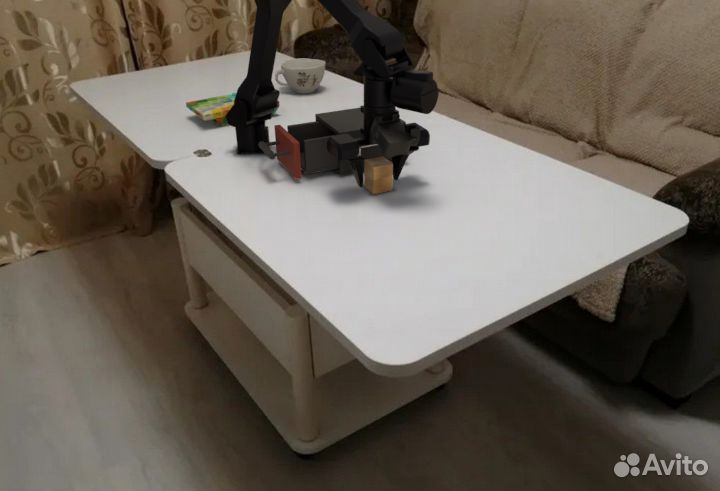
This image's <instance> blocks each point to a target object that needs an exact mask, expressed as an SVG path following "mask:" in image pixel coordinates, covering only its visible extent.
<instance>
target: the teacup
mask: <svg viewBox="0 0 720 491" xmlns="http://www.w3.org/2000/svg"><path fill="white" fill-rule="evenodd" d="M326 63H327V62H326V61H325V60H321V59H315V58H305V57H302V58H292V59H287V60H285V61H284V60H283V61H282V62H281V64H280V69H277V70H276V72H275V74H274V77H275V78H274V79H275V81H276V84H278V85H279V86H282V87H289V88H291V89H292V90H293V91H294V92H295V93H297V94H311V93H315V91H316V89H317V88H318V87H319V86H320V85H321V83H322V81H323V79H324V76H325V73H326ZM280 75H282V76H283V78H284V80H285V82H282V81H280V80H279V76H280Z"/></svg>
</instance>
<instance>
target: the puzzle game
mask: <svg viewBox="0 0 720 491" xmlns="http://www.w3.org/2000/svg"><path fill="white" fill-rule="evenodd" d="M236 93H237V92H232V93H231V94H224V95H219V96H214V97H208V98H203V99H198V100H193V101H186V102H185V106H186V108H187V109H188V110H190V111H191V112H193V113H194V114H195V115H196V116H198V117H199V118H200V119H201V120H203V121H206V122H208V121H212V122H213V123H214V124H215V125H217V126H218V127H220V126H226V125H228V122H227V119H226V114H227V113H228V112H229V110H230V109H231V108H232V106H233V105H234V100H235V96H236ZM280 106H281V105H280V101H279V100H278V107H277V108H275V110H274V111H273V113H272V116H274V115H275V114H276V112H277V110H278V109H279V108H280Z"/></svg>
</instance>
